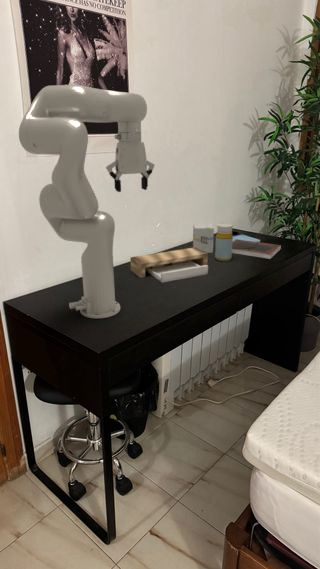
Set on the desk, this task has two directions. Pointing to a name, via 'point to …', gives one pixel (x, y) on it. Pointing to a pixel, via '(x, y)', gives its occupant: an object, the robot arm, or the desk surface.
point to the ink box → (203, 237)
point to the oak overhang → (167, 259)
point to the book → (255, 248)
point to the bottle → (223, 242)
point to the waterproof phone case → (245, 238)
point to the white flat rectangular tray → (178, 271)
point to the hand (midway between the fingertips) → (131, 190)
